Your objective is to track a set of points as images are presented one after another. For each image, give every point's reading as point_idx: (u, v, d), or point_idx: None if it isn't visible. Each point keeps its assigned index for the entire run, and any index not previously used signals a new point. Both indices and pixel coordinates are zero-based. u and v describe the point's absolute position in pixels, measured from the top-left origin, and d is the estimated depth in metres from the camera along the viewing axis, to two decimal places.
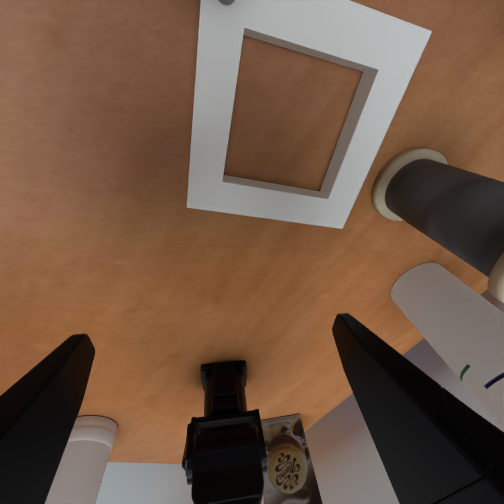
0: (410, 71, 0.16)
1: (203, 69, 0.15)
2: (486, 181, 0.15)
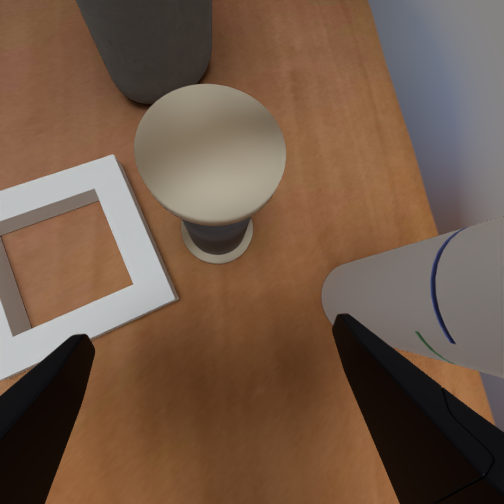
0: (119, 175, 0.21)
1: None
2: None
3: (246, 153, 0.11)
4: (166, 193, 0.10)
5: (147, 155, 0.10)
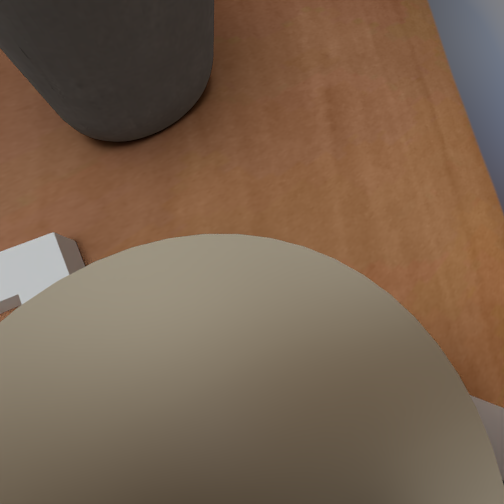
0: (61, 268, 0.13)
1: None
2: None
3: None
4: None
5: None
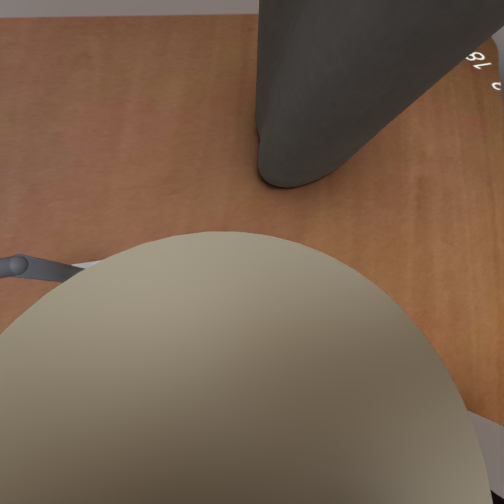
0: None
1: None
2: None
3: None
4: None
5: None
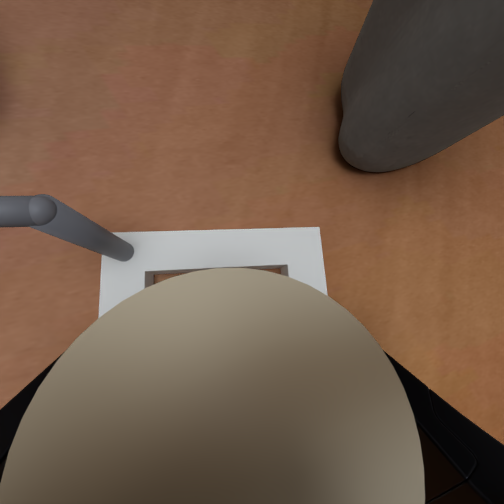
0: (319, 256, 0.16)
1: None
2: None
3: (322, 481, 0.04)
4: None
5: None
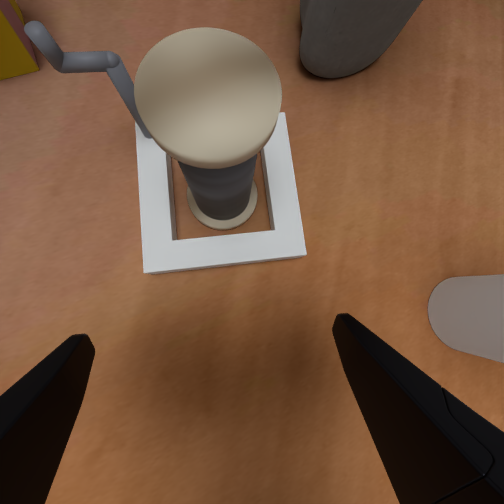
0: (285, 132, 0.23)
1: (142, 171, 0.21)
2: None
3: (242, 93, 0.11)
4: (167, 135, 0.10)
5: (147, 100, 0.11)
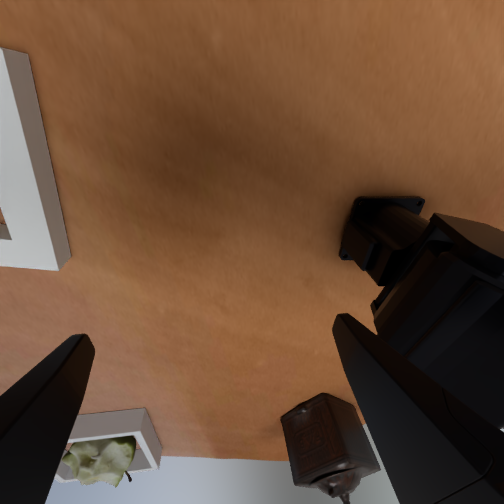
0: None
1: None
2: None
3: None
4: None
5: None
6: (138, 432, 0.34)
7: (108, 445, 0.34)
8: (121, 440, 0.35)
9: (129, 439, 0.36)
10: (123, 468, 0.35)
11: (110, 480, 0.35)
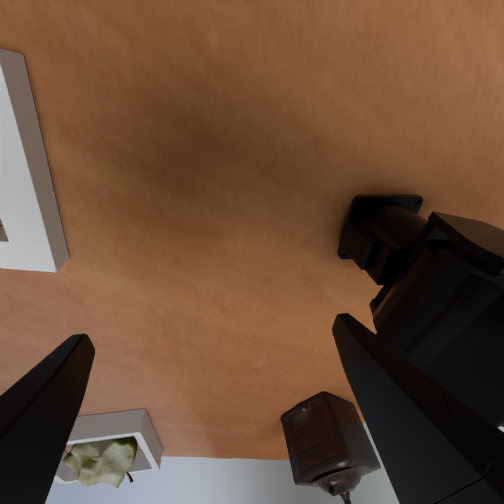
0: None
1: None
2: None
3: None
4: None
5: None
6: (138, 433, 0.34)
7: (109, 446, 0.34)
8: (122, 441, 0.35)
9: (130, 439, 0.36)
10: (124, 469, 0.35)
11: (111, 481, 0.35)
